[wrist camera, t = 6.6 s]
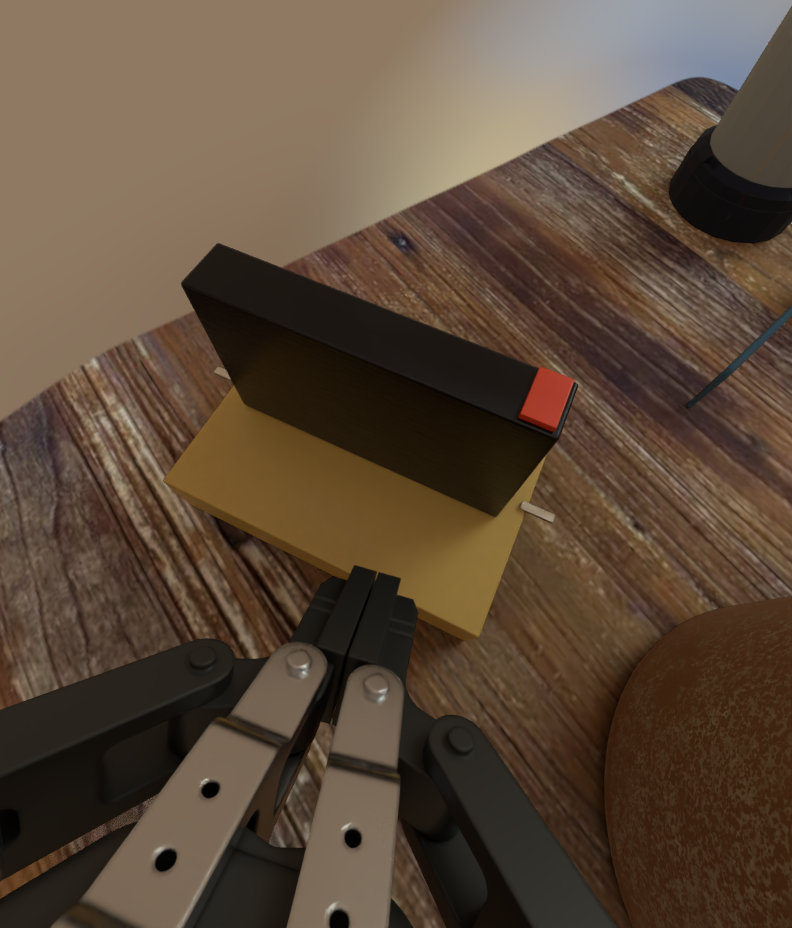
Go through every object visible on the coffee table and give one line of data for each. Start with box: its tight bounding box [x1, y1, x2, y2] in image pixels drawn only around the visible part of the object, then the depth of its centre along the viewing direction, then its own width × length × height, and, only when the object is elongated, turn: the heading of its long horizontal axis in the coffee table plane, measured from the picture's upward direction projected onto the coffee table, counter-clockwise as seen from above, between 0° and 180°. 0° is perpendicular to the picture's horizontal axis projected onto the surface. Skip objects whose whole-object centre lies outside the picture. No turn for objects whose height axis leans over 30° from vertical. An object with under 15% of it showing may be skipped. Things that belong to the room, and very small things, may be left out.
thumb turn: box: [181, 243, 578, 517], centre depth 16 cm, size 12×2×7 cm, turn 65°
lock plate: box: [163, 367, 555, 641], centre depth 21 cm, size 16×11×3 cm
